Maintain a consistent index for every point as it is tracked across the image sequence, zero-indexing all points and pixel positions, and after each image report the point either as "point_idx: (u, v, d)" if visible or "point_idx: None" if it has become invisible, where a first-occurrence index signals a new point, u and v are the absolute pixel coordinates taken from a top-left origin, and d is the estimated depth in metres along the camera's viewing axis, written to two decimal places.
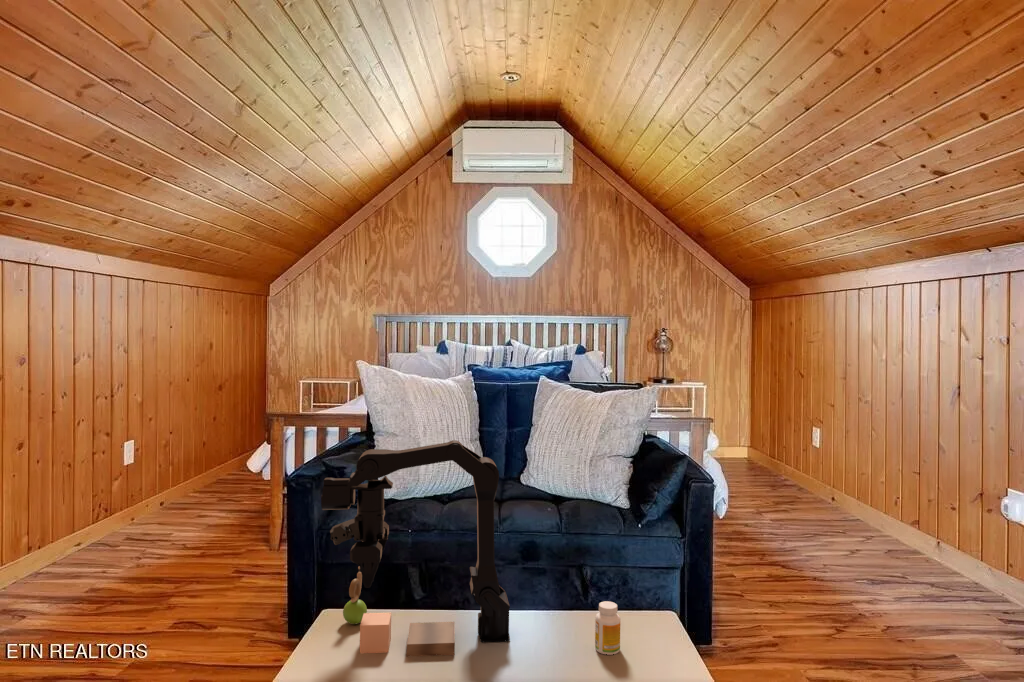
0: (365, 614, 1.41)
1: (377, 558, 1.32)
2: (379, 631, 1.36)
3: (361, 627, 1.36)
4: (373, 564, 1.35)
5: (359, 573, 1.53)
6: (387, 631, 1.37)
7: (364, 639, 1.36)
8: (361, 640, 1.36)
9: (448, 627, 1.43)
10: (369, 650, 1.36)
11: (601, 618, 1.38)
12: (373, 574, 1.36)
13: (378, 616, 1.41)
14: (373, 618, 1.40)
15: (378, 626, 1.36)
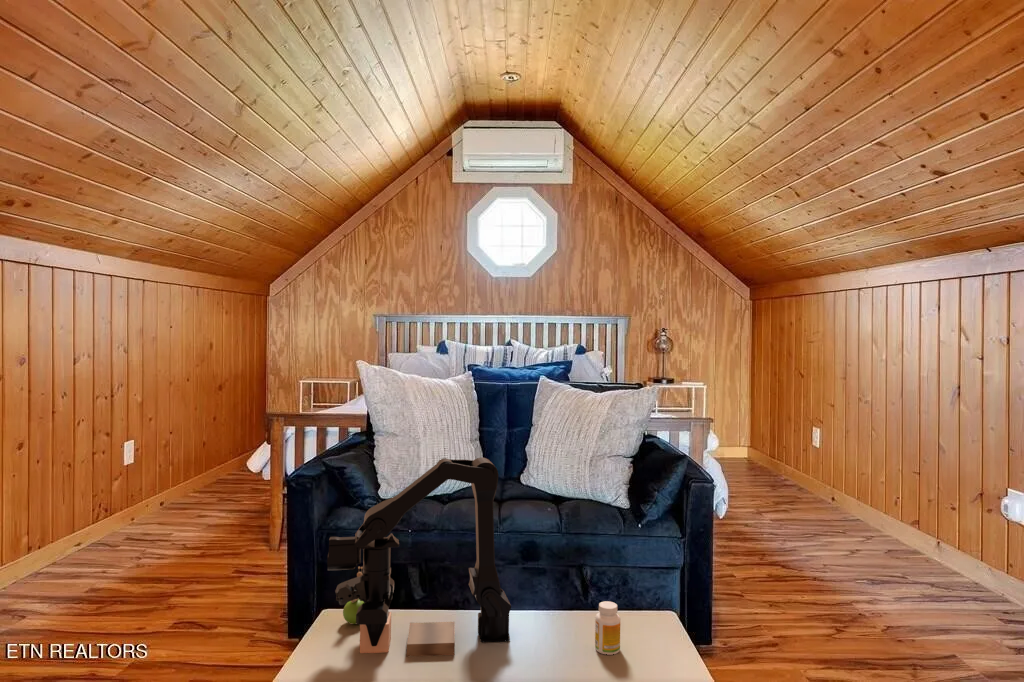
0: None
1: (383, 621, 1.30)
2: None
3: (361, 626, 1.36)
4: (380, 623, 1.35)
5: (359, 573, 1.53)
6: (387, 631, 1.37)
7: (364, 638, 1.36)
8: (361, 639, 1.36)
9: (448, 627, 1.43)
10: (369, 649, 1.36)
11: (601, 618, 1.38)
12: (380, 633, 1.35)
13: None
14: None
15: None
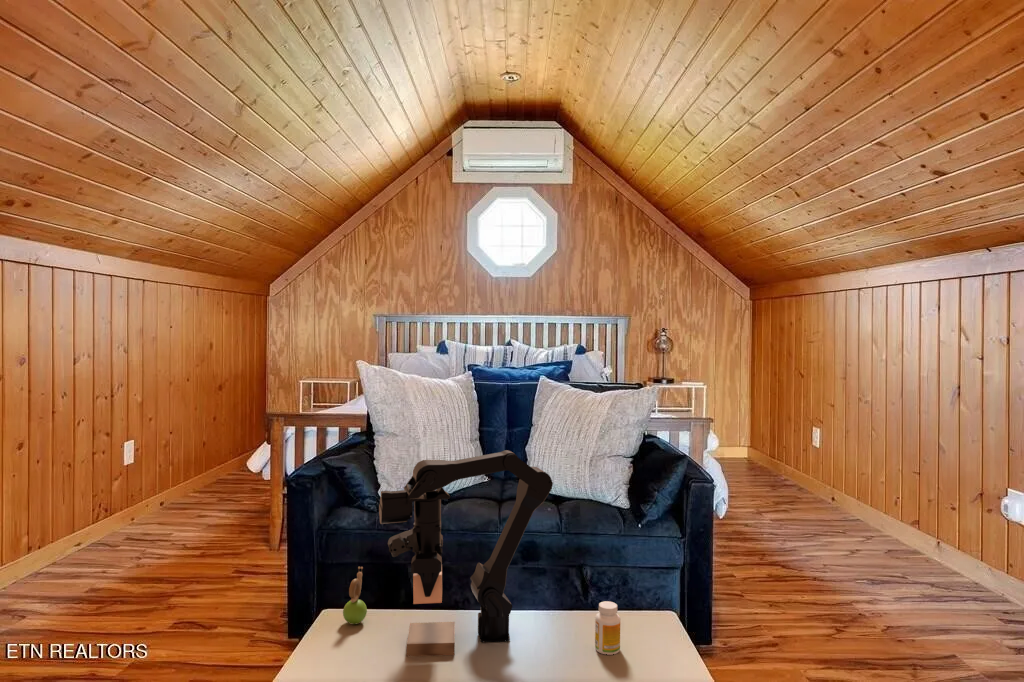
0: None
1: (438, 570, 1.31)
2: None
3: (414, 577, 1.37)
4: (433, 573, 1.36)
5: (359, 573, 1.53)
6: (440, 581, 1.38)
7: (417, 589, 1.37)
8: (414, 590, 1.37)
9: (448, 627, 1.43)
10: (422, 600, 1.37)
11: (600, 618, 1.38)
12: (433, 583, 1.36)
13: None
14: None
15: None
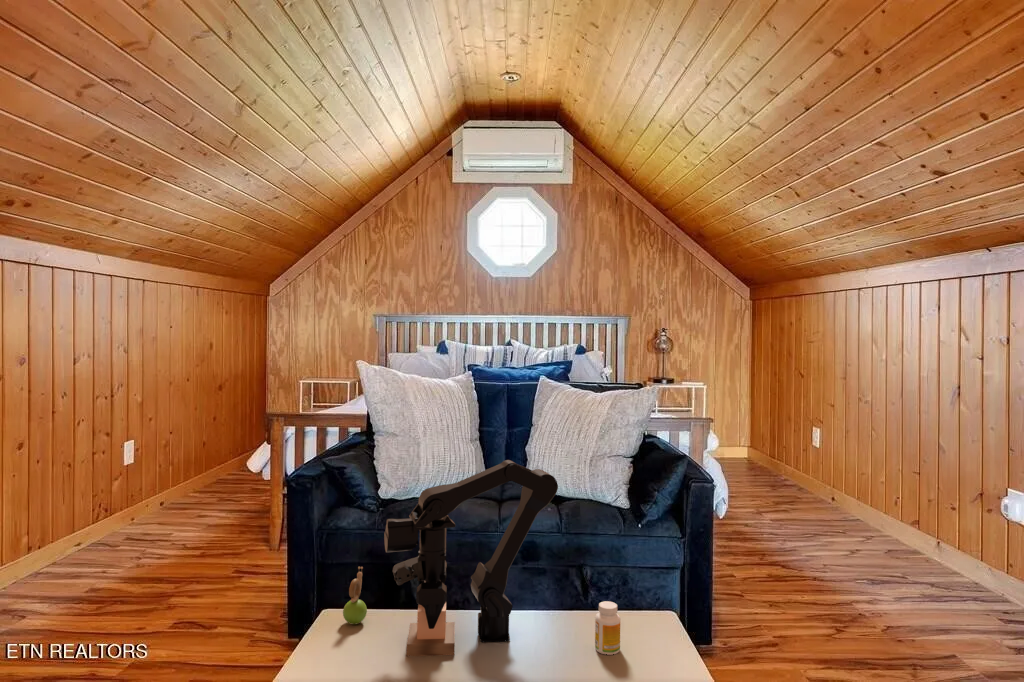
0: None
1: (443, 600, 1.32)
2: None
3: (418, 613, 1.37)
4: (438, 605, 1.34)
5: (359, 573, 1.53)
6: (444, 617, 1.38)
7: (421, 625, 1.37)
8: (418, 626, 1.37)
9: (448, 627, 1.43)
10: (426, 636, 1.38)
11: (600, 618, 1.38)
12: (437, 615, 1.35)
13: None
14: None
15: None
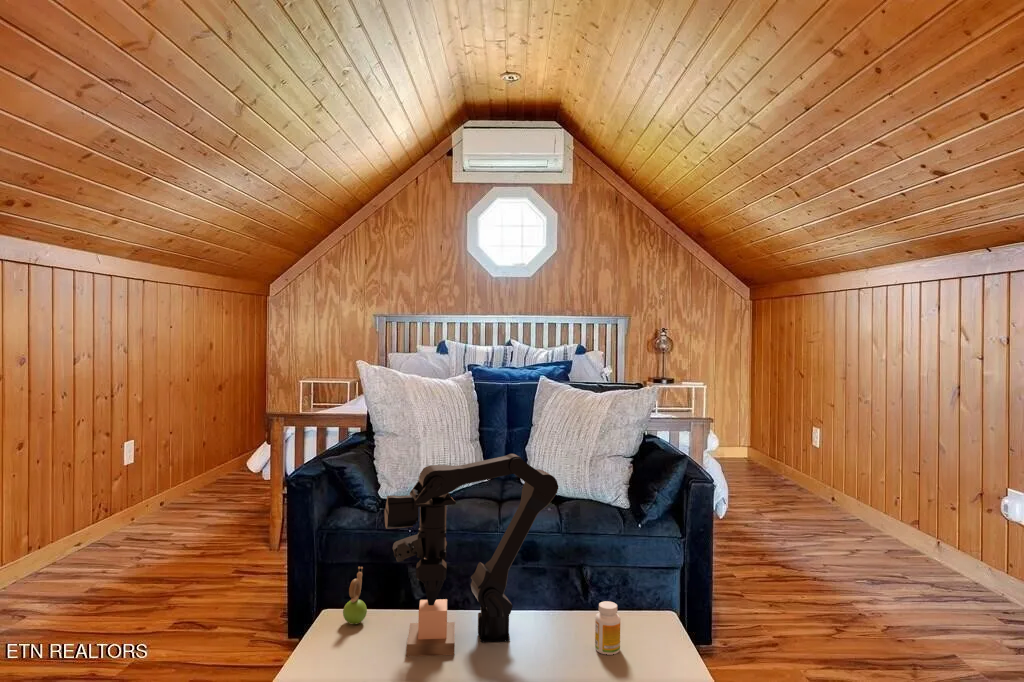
0: (421, 601, 1.43)
1: (443, 576, 1.31)
2: (437, 617, 1.38)
3: (419, 613, 1.37)
4: (438, 582, 1.34)
5: (359, 573, 1.53)
6: (445, 617, 1.38)
7: (422, 625, 1.37)
8: (419, 626, 1.37)
9: (448, 627, 1.43)
10: (427, 636, 1.38)
11: (600, 618, 1.38)
12: (437, 592, 1.35)
13: (435, 603, 1.42)
14: None
15: (436, 612, 1.38)
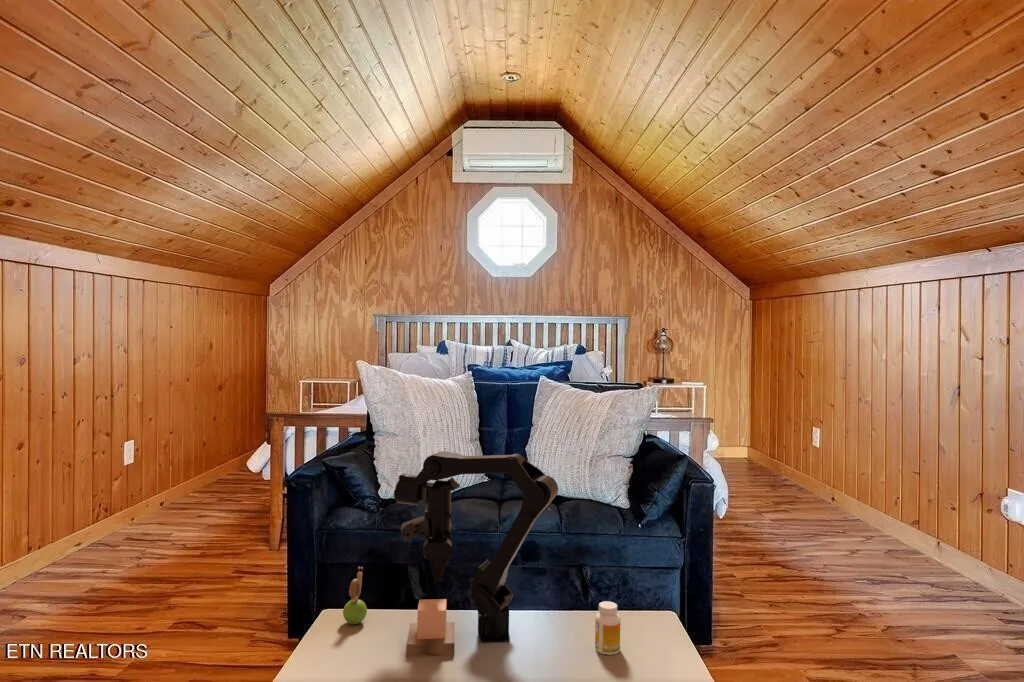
0: (420, 601, 1.43)
1: (449, 554, 1.41)
2: (436, 617, 1.38)
3: (418, 613, 1.38)
4: (443, 559, 1.43)
5: (359, 573, 1.53)
6: (444, 617, 1.38)
7: (421, 624, 1.38)
8: (418, 625, 1.38)
9: (448, 627, 1.43)
10: (426, 635, 1.38)
11: (600, 618, 1.38)
12: (443, 569, 1.44)
13: (434, 602, 1.42)
14: (430, 604, 1.41)
15: (435, 611, 1.38)
